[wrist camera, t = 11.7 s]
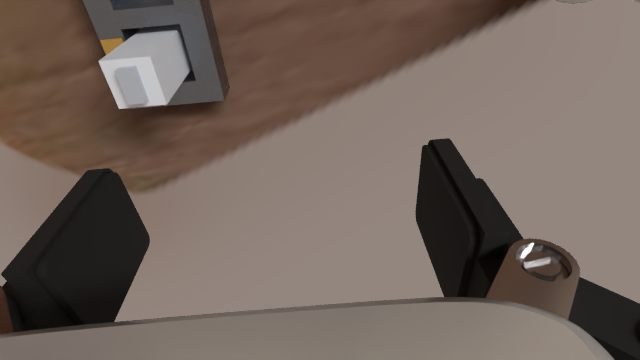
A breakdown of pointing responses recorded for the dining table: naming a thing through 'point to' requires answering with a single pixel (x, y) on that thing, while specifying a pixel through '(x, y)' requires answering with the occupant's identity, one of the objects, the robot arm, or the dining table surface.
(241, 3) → the dining table surface
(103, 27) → the socket panel
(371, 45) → the dining table surface
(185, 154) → the dining table surface
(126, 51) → the plug
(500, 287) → the robot arm
